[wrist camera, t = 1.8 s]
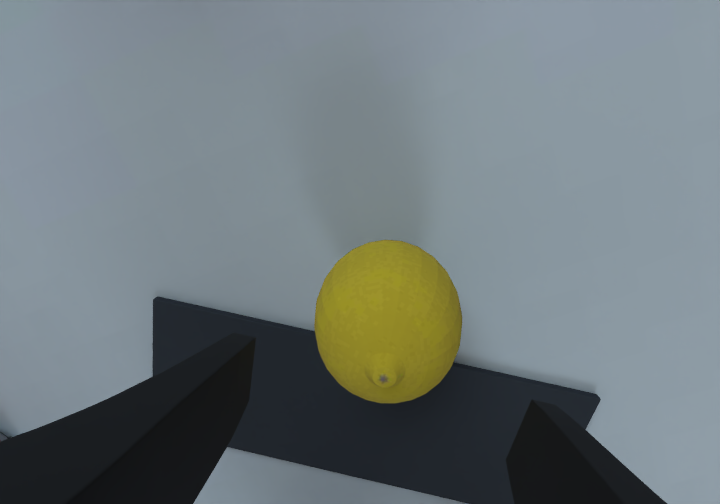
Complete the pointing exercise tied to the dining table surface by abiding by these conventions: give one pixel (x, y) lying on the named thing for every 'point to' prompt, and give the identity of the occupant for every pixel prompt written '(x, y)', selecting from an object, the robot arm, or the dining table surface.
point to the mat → (367, 410)
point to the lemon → (388, 322)
